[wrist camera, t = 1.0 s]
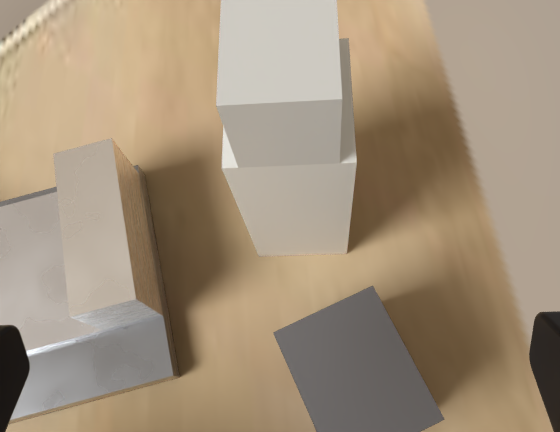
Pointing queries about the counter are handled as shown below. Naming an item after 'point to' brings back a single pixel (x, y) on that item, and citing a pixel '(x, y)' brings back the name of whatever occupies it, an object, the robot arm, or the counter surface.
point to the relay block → (356, 369)
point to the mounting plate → (85, 283)
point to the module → (287, 123)
